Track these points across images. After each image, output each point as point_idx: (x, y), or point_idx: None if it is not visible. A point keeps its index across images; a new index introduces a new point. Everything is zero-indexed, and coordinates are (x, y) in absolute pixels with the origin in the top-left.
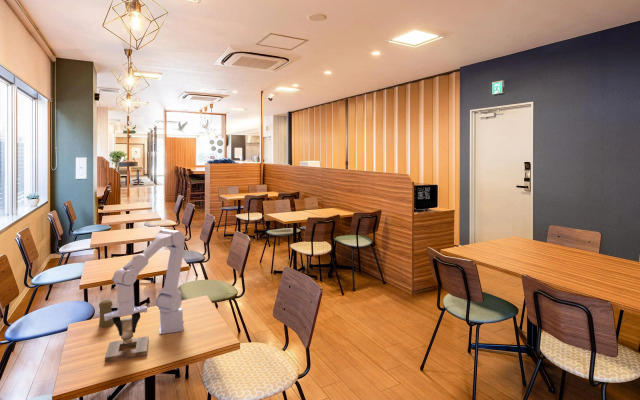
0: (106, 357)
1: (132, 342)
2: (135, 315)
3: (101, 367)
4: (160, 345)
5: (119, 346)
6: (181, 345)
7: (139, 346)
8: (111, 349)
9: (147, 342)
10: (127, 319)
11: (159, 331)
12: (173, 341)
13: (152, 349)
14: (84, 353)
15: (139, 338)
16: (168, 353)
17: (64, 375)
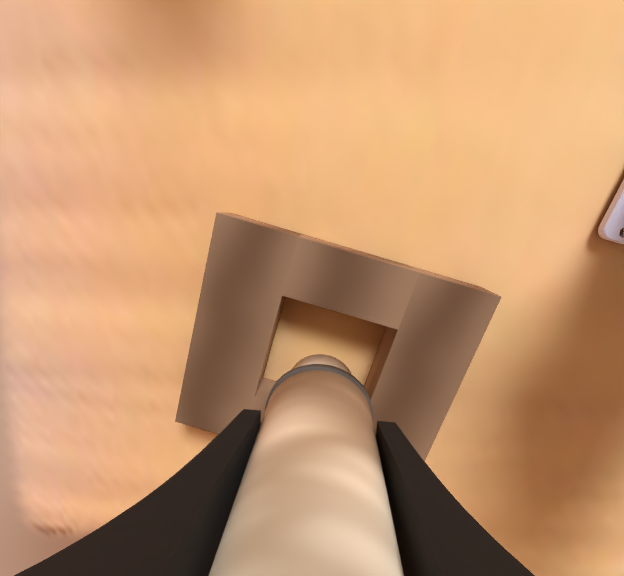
0: (184, 423)
1: (366, 319)
2: None
3: (173, 432)
4: (516, 397)
5: (274, 325)
6: (619, 472)
7: (389, 413)
8: (219, 343)
9: (454, 392)
10: None
11: (620, 199)
12: (611, 397)
13: (454, 414)
14: (80, 209)
15: (429, 293)
16: (509, 507)
17: (13, 399)
